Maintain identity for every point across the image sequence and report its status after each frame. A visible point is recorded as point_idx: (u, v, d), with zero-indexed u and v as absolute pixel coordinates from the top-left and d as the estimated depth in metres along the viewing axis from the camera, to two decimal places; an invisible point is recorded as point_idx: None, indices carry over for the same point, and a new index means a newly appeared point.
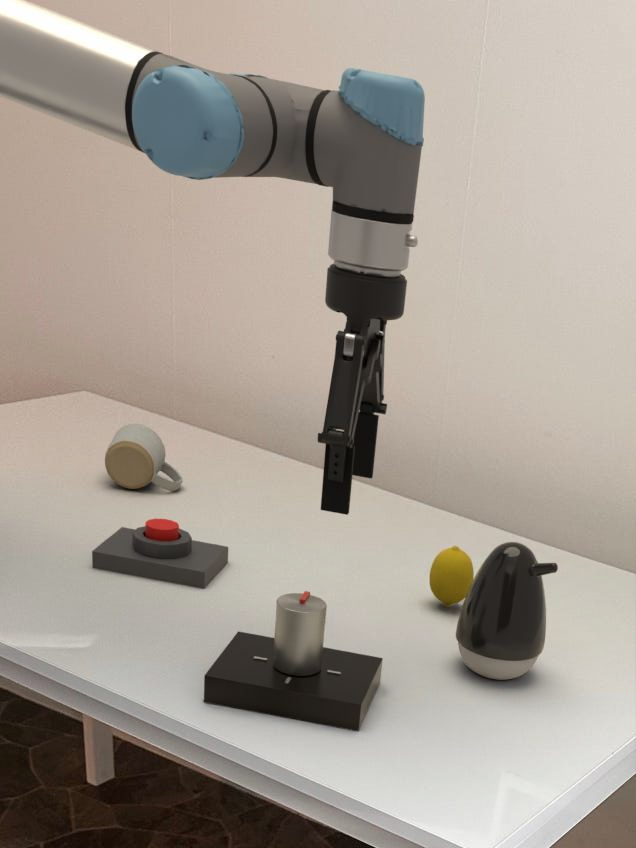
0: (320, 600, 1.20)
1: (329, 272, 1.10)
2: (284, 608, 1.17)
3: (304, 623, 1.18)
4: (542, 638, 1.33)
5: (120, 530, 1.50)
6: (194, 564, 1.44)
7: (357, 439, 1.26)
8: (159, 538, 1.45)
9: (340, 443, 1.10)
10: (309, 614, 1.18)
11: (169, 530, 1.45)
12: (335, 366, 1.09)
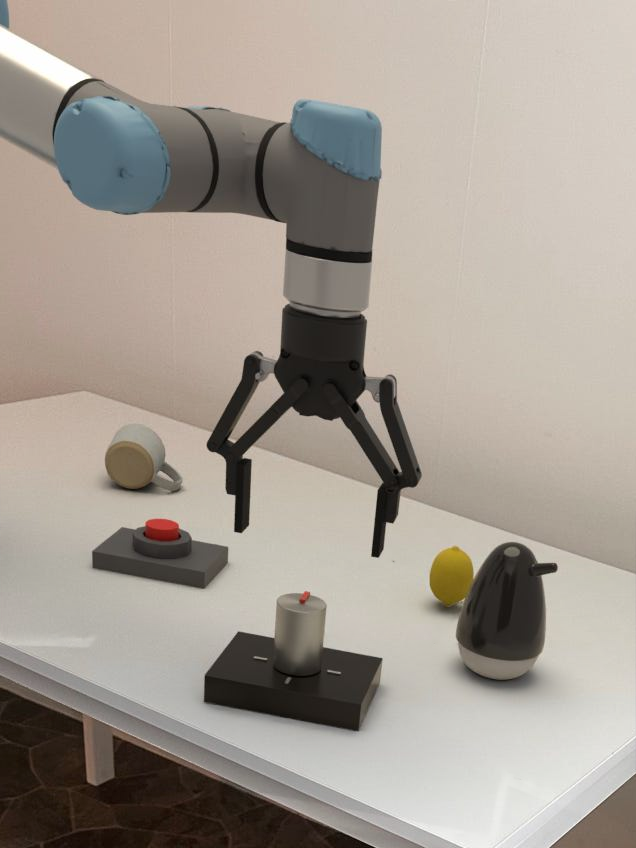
0: (320, 600, 1.20)
1: (338, 325, 1.02)
2: (284, 608, 1.17)
3: (304, 623, 1.18)
4: (542, 638, 1.33)
5: (120, 530, 1.50)
6: (194, 564, 1.44)
7: (245, 492, 1.14)
8: (159, 538, 1.45)
9: None
10: (309, 614, 1.18)
11: (169, 530, 1.45)
12: (395, 414, 1.08)
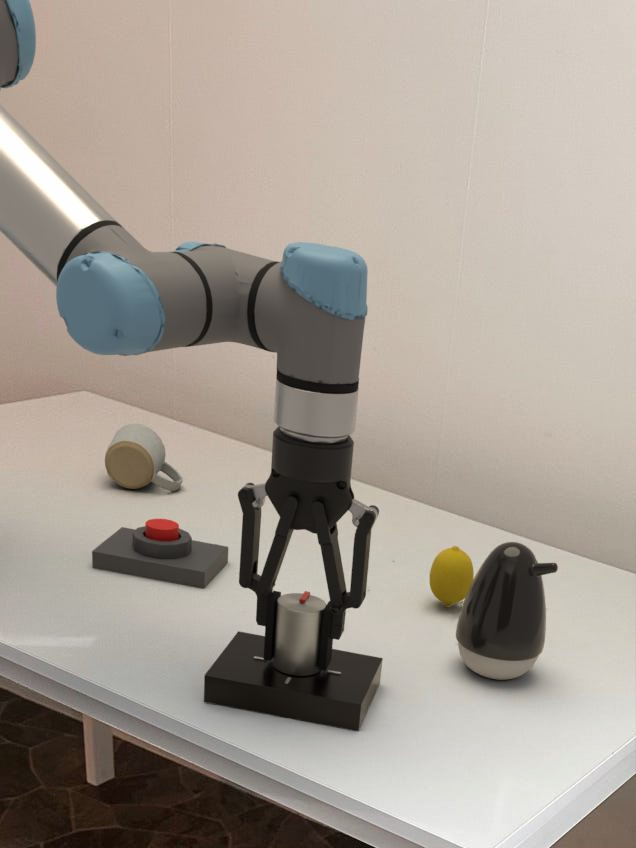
0: (320, 600, 1.20)
1: (325, 451, 1.08)
2: (284, 608, 1.17)
3: (304, 623, 1.18)
4: (542, 638, 1.33)
5: (120, 530, 1.50)
6: (194, 564, 1.44)
7: (274, 623, 1.20)
8: (159, 538, 1.45)
9: None
10: (309, 614, 1.18)
11: (169, 530, 1.45)
12: (366, 543, 1.14)
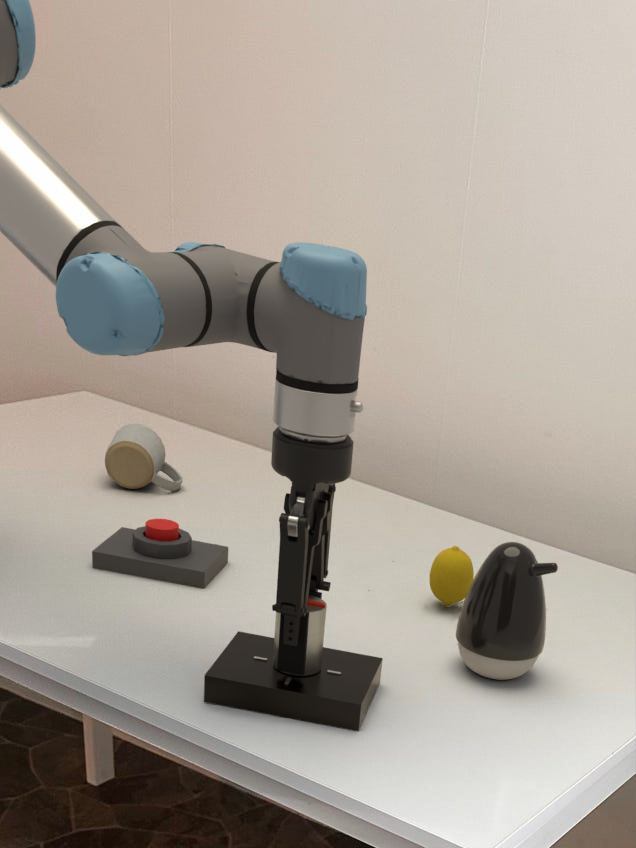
0: (312, 610, 1.18)
1: (274, 437, 1.09)
2: None
3: (276, 612, 1.19)
4: (542, 638, 1.33)
5: (120, 530, 1.50)
6: (194, 564, 1.44)
7: None
8: (159, 538, 1.45)
9: (293, 614, 1.14)
10: None
11: (169, 530, 1.45)
12: (281, 547, 1.10)
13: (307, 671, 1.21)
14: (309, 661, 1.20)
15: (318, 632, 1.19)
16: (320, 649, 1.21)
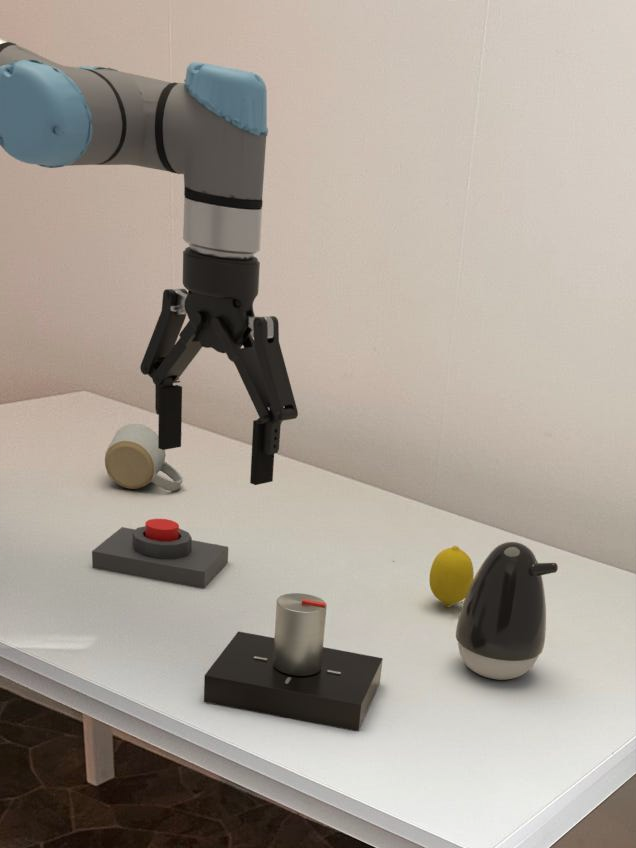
0: (312, 610, 1.18)
1: (212, 263, 1.15)
2: (283, 595, 1.20)
3: (276, 612, 1.19)
4: (542, 638, 1.33)
5: (120, 530, 1.50)
6: (194, 564, 1.44)
7: (169, 413, 1.29)
8: (159, 538, 1.45)
9: (291, 418, 1.22)
10: (277, 605, 1.18)
11: (169, 530, 1.45)
12: (266, 351, 1.18)
13: (307, 671, 1.21)
14: (309, 661, 1.20)
15: (318, 632, 1.19)
16: (320, 649, 1.21)
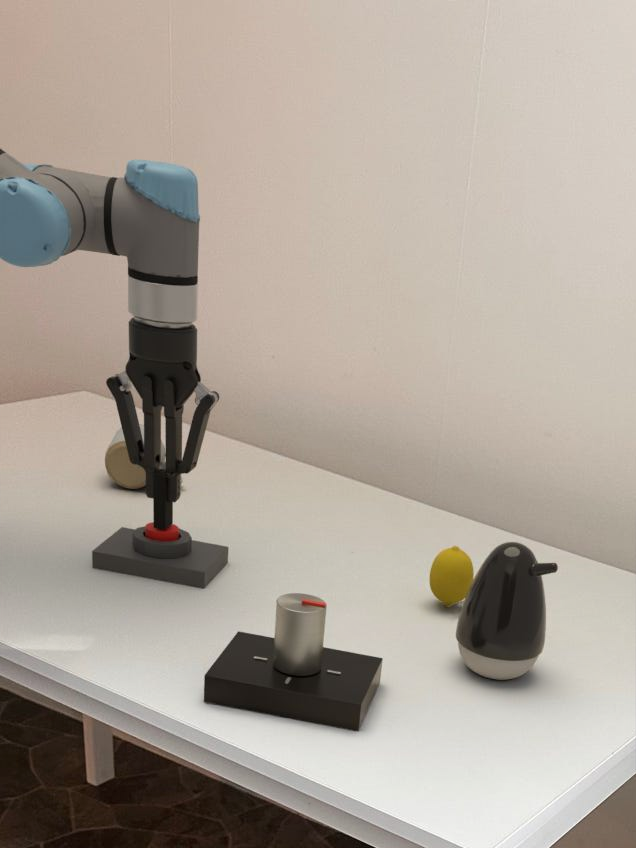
0: (312, 610, 1.18)
1: (169, 334, 1.31)
2: (283, 595, 1.20)
3: (276, 612, 1.19)
4: (542, 638, 1.33)
5: (120, 530, 1.50)
6: (194, 564, 1.44)
7: None
8: None
9: (192, 469, 1.42)
10: (277, 605, 1.18)
11: (169, 534, 1.45)
12: (203, 421, 1.37)
13: (307, 671, 1.21)
14: (309, 661, 1.20)
15: (318, 632, 1.19)
16: (320, 649, 1.21)
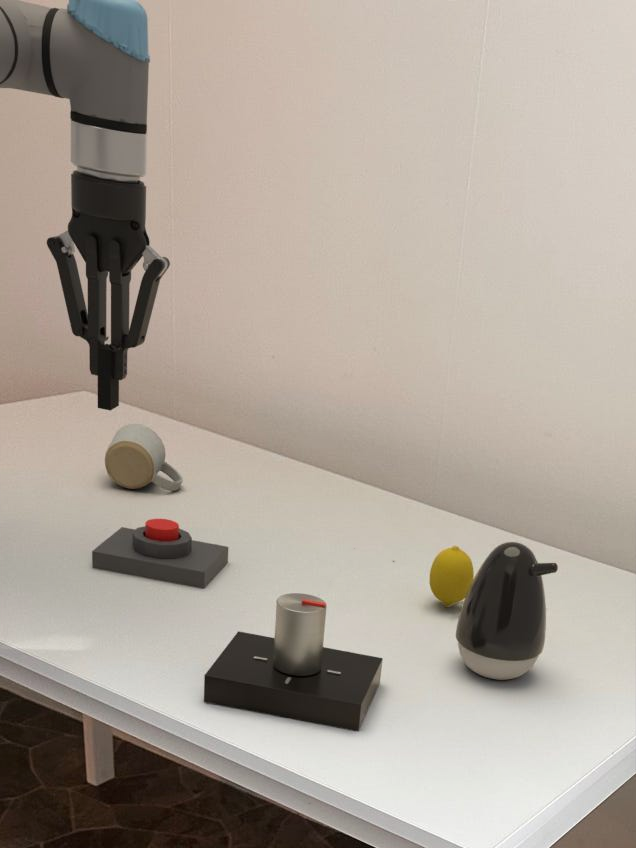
0: (312, 610, 1.18)
1: (115, 187, 1.21)
2: (283, 595, 1.20)
3: (276, 612, 1.19)
4: (542, 638, 1.33)
5: (120, 530, 1.50)
6: (194, 564, 1.44)
7: None
8: (159, 538, 1.45)
9: (140, 344, 1.32)
10: (277, 605, 1.18)
11: (169, 530, 1.45)
12: (151, 289, 1.28)
13: (307, 671, 1.21)
14: (309, 661, 1.20)
15: (318, 632, 1.19)
16: (320, 649, 1.21)
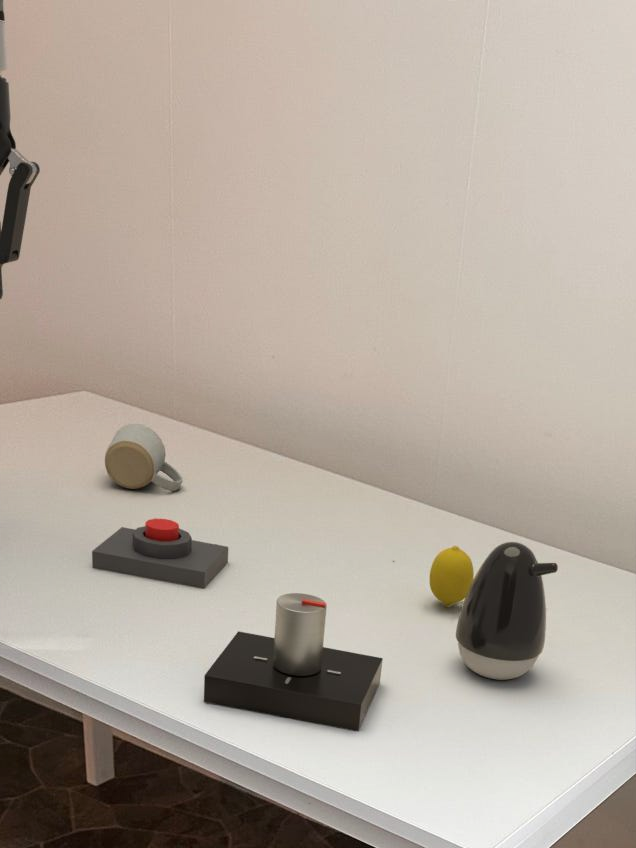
0: (312, 610, 1.18)
1: None
2: (283, 595, 1.20)
3: (276, 612, 1.19)
4: (542, 638, 1.33)
5: (120, 530, 1.50)
6: (194, 564, 1.44)
7: None
8: (159, 538, 1.45)
9: (14, 260, 1.22)
10: (277, 605, 1.18)
11: (169, 530, 1.45)
12: (19, 196, 1.18)
13: (307, 671, 1.21)
14: (309, 661, 1.20)
15: (318, 632, 1.19)
16: (320, 649, 1.21)
